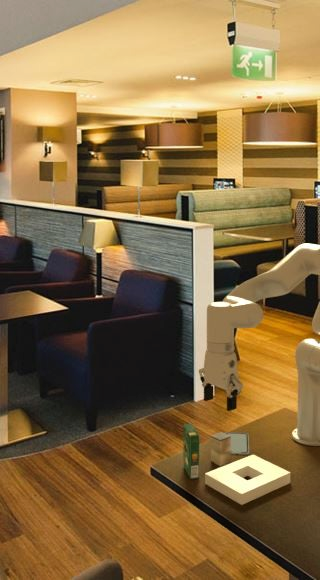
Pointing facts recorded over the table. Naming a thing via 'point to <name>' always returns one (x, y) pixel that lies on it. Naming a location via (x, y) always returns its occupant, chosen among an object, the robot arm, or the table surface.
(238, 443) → the smartphone
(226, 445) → the plug
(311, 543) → the table surface
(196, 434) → the coffee box
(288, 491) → the table surface
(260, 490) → the socket plate
